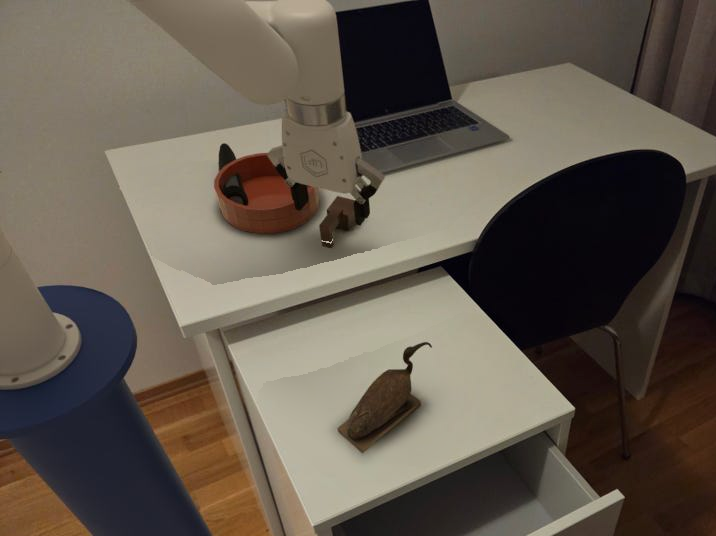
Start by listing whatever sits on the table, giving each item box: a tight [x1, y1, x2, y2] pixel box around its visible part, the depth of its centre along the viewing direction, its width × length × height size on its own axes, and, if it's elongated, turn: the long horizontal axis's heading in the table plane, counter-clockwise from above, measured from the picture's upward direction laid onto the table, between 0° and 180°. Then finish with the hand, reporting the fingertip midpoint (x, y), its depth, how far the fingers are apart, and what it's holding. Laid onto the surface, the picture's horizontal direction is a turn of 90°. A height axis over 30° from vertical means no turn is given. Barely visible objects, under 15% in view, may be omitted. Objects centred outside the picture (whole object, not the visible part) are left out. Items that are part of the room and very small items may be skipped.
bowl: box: [213, 152, 320, 234], centre depth 102 cm, size 15×15×4 cm
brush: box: [318, 195, 356, 249], centre depth 99 cm, size 8×4×4 cm, turn 164°
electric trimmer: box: [218, 142, 248, 206], centre depth 105 cm, size 4×16×3 cm, turn 20°
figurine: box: [337, 341, 433, 454], centre depth 76 cm, size 14×4×9 cm, turn 140°
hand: (332, 212), depth 95 cm, fingers open, 9 cm apart
